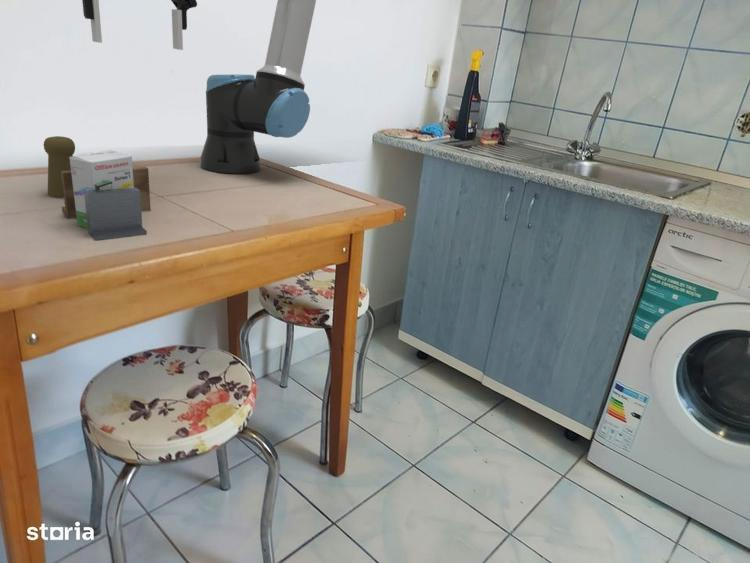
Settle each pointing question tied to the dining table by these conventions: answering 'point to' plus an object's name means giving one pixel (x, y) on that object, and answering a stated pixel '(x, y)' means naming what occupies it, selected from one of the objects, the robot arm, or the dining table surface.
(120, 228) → the bookend
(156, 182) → the dining table surface
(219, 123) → the robot arm
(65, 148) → the cork
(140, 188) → the brown boxy piece
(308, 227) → the dining table surface
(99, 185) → the ink box
